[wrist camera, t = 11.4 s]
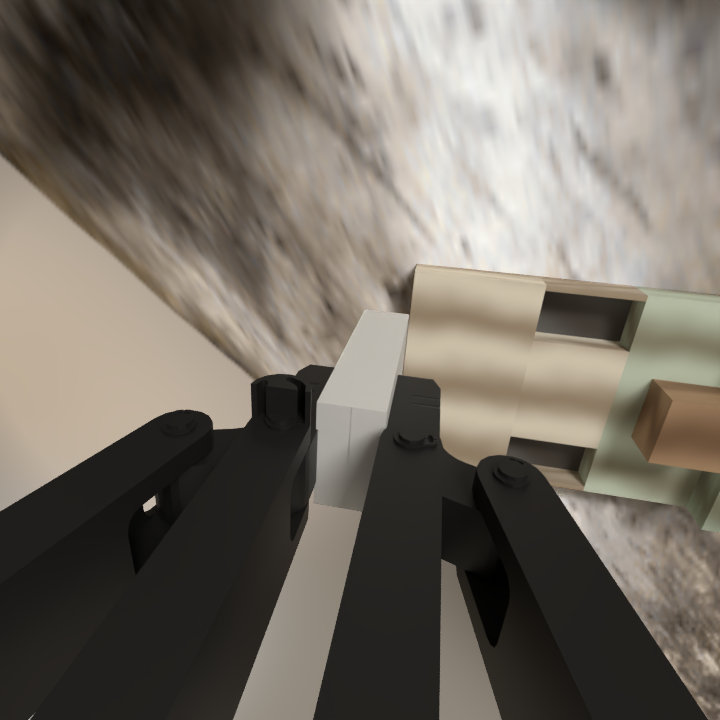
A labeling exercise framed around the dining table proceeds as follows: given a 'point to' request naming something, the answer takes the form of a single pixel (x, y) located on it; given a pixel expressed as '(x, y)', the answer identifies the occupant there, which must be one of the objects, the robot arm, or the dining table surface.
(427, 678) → the robot arm
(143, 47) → the dining table surface
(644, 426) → the walnut block
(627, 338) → the trap board
